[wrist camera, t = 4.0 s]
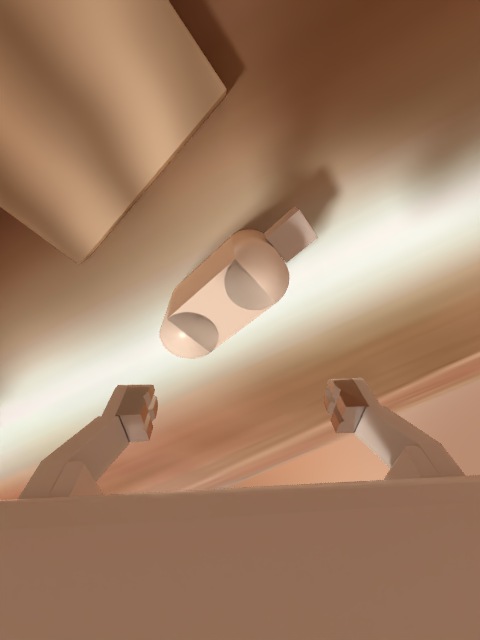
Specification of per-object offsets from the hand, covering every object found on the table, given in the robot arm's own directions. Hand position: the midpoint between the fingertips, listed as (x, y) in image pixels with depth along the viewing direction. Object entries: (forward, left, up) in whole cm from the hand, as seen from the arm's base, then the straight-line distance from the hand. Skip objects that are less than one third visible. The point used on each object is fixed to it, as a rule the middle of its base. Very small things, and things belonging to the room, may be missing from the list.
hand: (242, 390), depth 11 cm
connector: (0, +1, -11) cm, 11 cm away
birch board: (+1, +15, -11) cm, 19 cm away
